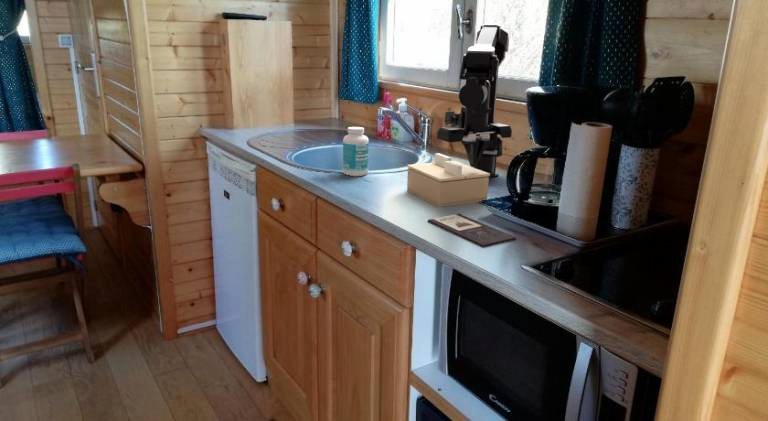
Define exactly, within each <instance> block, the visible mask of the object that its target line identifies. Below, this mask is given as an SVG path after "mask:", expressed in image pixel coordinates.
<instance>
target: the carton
mask: <svg viewBox="0 0 768 421" xmlns="http://www.w3.org/2000/svg"><path fill="white" fill-rule="evenodd" d="M489 179H490V177H487V176H486V177H477V178H468V179H466V178H465V179H460V180H451V181H442V182H440V181H437V180H435V179H433V178H431V177H428V176H426V175H424V174H421V173H419V172H417V171H415V170H412V169H410V168H408V167H407V181H406V182H407V186H406V187H407V189H406V191H407V192H409V193H411V194H413V195H415V196H417V197H419V198H421V199H423V200H424V201H427V202H429V203H431V204H433V205H435V206H436V207H439V208H442V207H449V206H457V205H463V204H465V205H466V204H470V203H471V204H472V203H478V202H479V201H480V202H483V201H482V200H487V201H488V195H489V194H488V193H489Z"/></svg>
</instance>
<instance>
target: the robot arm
mask: <svg viewBox="0 0 768 421" xmlns="http://www.w3.org/2000/svg"><path fill="white" fill-rule="evenodd" d="M501 27H502V26H501V25H500V24H498V23H483V24H481V25H480V27H479V28H480V29H479V31H477V32H476V40H475V45H473V46H470V47H468V48H467V50H466V53H465V54H463V56H462V62H461V67H460V73H459V80H460V81H461V80H462V81H463V80H464V81H465V84H464V85H463V86H462V87H461V88H460V90H459V92H458V99H459V102H460V104H461V105H462V106H461V108H460V112H459V113H455V111H452V110H451V111H446V112H445V113H444V124H445V125H446V126H441V127H439V128H438V130H437V132H436V139H438V140H441V141H445V142H446V143H458V142H459V143H461V144H462V145H463V147H464V150H465V153H466V156H467V160H468V163H469V166H470V167H473V168H476V169H478V170H481V171H484V172H487V173H490V176H487V177H489V178H495V177H499V176H500V174H498V173H496V171H497V170H496V169H497V159H498V158H499V157H503V150H504V149H503V146H504V145H503V143H504V142H503V139H507V138H509V139H510V138H513V136H512V135H513V129H512V128H511V126H510V125H508V124H504V123H500V122H496V120H495V118H496V106H497V92H498V79H499V68H500V66H501V65H502V63H503V62H504V60H505V59H506V55H507V54H506V53H508V52H509V45H510V44H509V43H510V39H509V38H510V37H509V33H508V32H507V31H505V30H504V29H503V28H501Z"/></svg>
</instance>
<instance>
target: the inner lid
mask: <svg viewBox="0 0 768 421" xmlns="http://www.w3.org/2000/svg"><path fill="white" fill-rule="evenodd" d="M444 161H450V162H453V163H455V164H458V165H461V166H462V175H463V176H465V178H466V179H468V178H477V177H486V176H490V173H487V172H484V171H481V170H478V169H476V168H473V167H471V166H470V165H467V164H464V163H462V162H459V161H456V160H452V157H451V156H448V155H445V154H442V153H439V152H438V153H434V162H431V163H432V164H435V165H437V166H440V167H442V168H444Z"/></svg>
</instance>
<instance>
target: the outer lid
mask: <svg viewBox="0 0 768 421" xmlns="http://www.w3.org/2000/svg"><path fill="white" fill-rule="evenodd" d="M432 163H433V162H426V163H425V162H424V163H415V164H413V163H412V164H407V165H406V168H407V169H408V168H410V169H412V170H415V171H417V172H419V173H421V174H424V175H426V176H428V177H431V178H433V179H435V180H437V181H440V182H442V181H451V180H460V179H465V176H463V175H462V166H461V165H458V164H455V163H453V162H450V161H444V168H442V167H440V166H437V165H435V164H432Z"/></svg>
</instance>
